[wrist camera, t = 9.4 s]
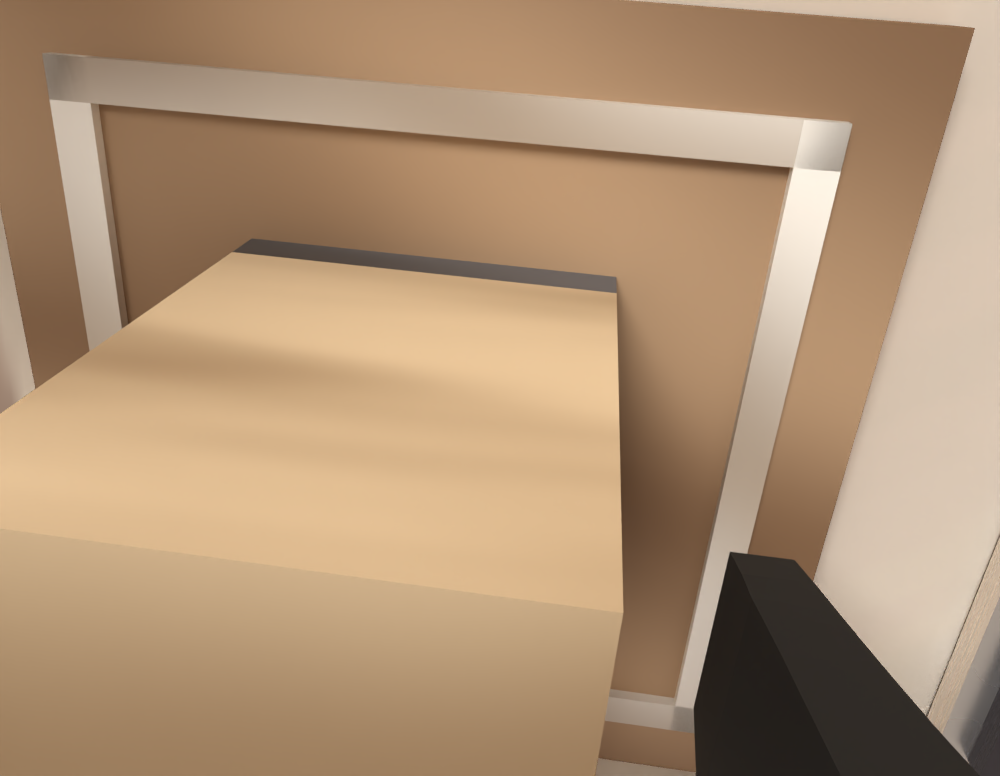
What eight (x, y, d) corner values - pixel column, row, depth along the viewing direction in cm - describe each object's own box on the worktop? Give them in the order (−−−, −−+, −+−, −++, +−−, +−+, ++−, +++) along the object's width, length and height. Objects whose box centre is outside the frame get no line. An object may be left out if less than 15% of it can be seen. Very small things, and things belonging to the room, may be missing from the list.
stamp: (574, 576, 12) (545, 1057, 7) (269, 536, 12) (6, 961, 7) (616, 276, 10) (623, 612, 5) (252, 238, 10) (-137, 509, 5)
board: (749, 749, 14) (756, 789, 13) (111, 657, 15) (87, 690, 14) (952, 25, 9) (980, 29, 8) (-14, -50, 10) (-62, -53, 9)
